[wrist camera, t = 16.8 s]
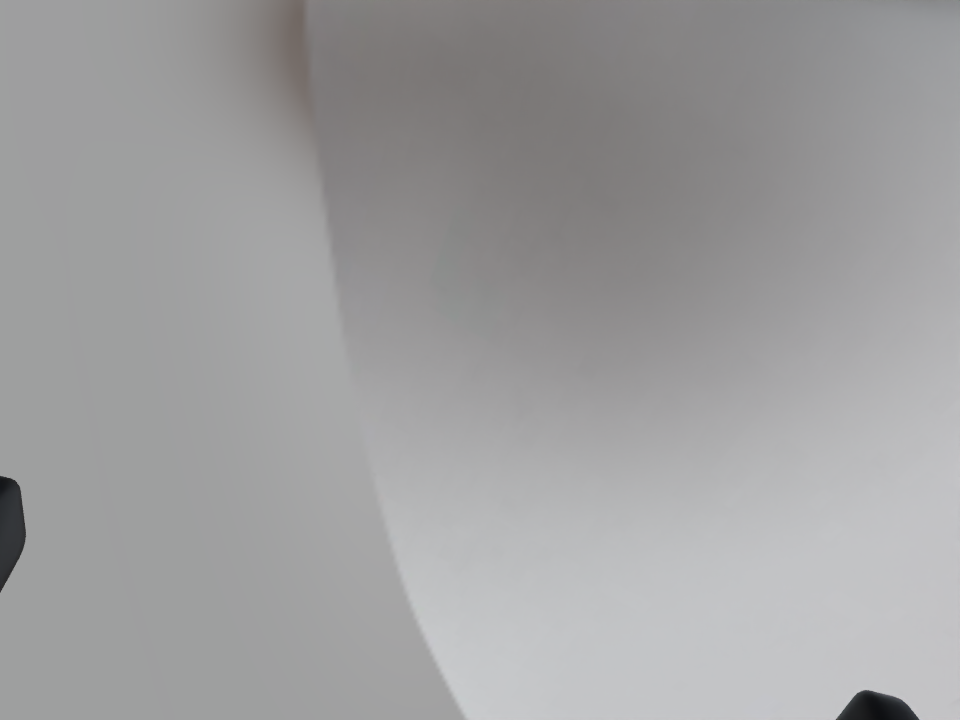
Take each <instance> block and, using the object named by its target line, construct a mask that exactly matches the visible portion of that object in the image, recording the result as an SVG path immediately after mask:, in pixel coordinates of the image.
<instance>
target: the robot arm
mask: <svg viewBox="0 0 960 720" xmlns="http://www.w3.org/2000/svg"><path fill="white" fill-rule="evenodd" d="M25 537H26V530H25V523H24V514H23V506H22V498H21V491H20V487H19V485H18V484H17V482H16V481H15V480H13V479H11V478H7V477H3V476H0V592H1V590H2V588H3V587H4V585H5V583H6V581H7V579H8V578H9V575H10V574H11V572H12V570H13V568H14V567H15V565H16V563H17V561H18V559H19V557H20V555H21V553H22V550H23V547H24V544H25ZM836 720H919V719H918V717H917V716H916V715H915V714H914V712H913V711H912V710H911V708H910V707H909V706H908V705H907V704H906V703H905V702H903V701H902V700H900V699H899V698H896V697H893V696H889V695H885V694H881V693H877V692H873V691H869V690H864V691H861V692H859V693H857V694H856V695H855V696H854V697H853V699H852V700H851V701H850V702H849V704H848V705H847V706H846V708H845V709H844V710H843V711H842V713H841V714H840V715H839V716H838V718H837V719H836Z"/></svg>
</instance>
